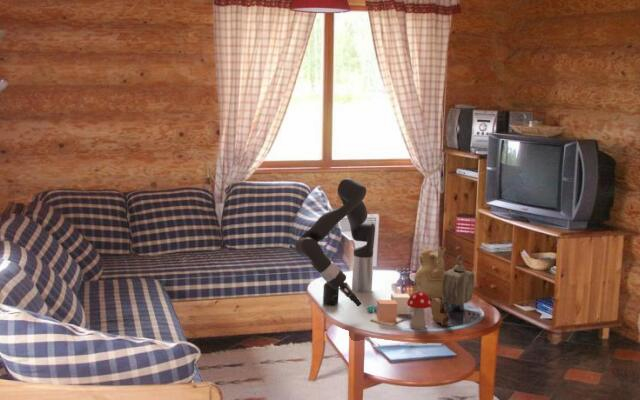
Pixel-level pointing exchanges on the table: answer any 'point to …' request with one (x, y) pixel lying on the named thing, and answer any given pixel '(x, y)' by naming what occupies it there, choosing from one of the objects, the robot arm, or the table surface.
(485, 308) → the table surface
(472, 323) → the table surface
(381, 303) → the peach rectangular brick
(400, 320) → the birch coaster
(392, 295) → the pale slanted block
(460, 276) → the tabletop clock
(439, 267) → the tan upright figure
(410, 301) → the decorative mushroom
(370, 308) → the teal marble
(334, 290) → the supplement bottle
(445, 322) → the wooden carving
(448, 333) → the table surface
